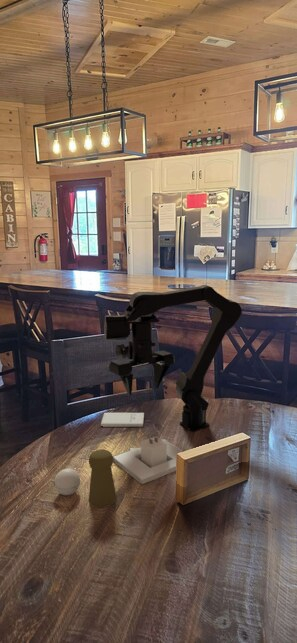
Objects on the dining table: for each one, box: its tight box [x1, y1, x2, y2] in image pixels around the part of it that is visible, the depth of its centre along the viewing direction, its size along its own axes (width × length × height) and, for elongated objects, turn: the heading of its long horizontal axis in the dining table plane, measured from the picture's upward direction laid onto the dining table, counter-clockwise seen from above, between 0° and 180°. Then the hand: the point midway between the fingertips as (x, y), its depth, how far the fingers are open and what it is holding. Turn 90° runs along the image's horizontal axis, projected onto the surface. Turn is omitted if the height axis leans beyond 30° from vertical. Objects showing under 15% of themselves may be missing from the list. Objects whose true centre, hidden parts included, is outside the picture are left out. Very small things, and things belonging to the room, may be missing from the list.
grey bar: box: [112, 447, 135, 457], centre depth 114 cm, size 9×2×1 cm, turn 125°
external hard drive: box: [100, 412, 145, 428], centre depth 136 cm, size 2×8×12 cm
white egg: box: [53, 468, 81, 496], centre depth 98 cm, size 8×6×6 cm
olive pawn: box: [88, 448, 117, 508], centre depth 96 cm, size 6×6×11 cm
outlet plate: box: [113, 438, 184, 485], centre depth 112 cm, size 16×13×1 cm
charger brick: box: [140, 436, 167, 467], centre depth 111 cm, size 5×5×6 cm
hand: (143, 391), depth 127 cm, fingers open, 9 cm apart
